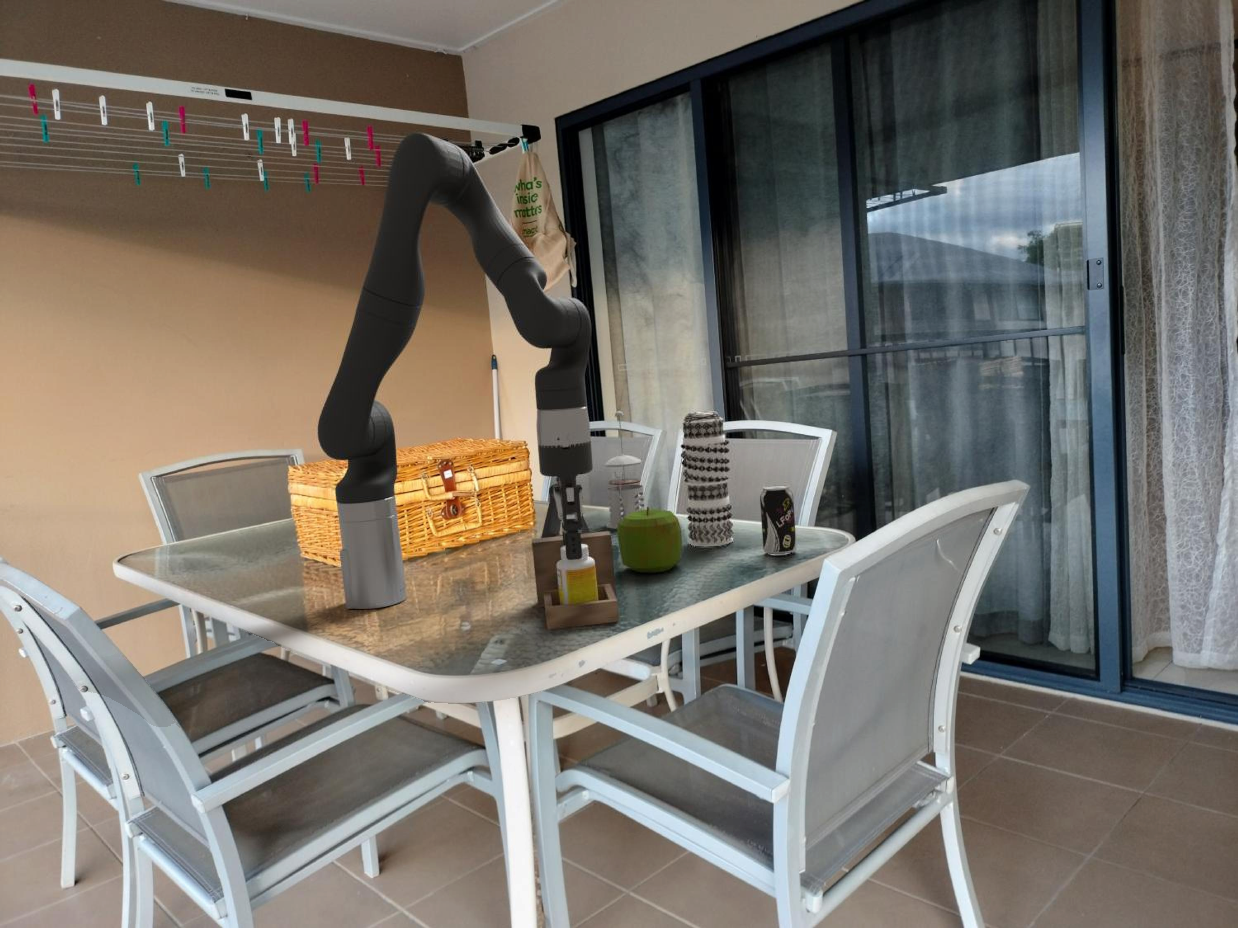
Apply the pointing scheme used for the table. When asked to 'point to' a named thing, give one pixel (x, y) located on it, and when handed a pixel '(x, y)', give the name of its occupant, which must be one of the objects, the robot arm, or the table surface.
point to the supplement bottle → (577, 578)
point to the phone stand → (556, 519)
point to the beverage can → (778, 519)
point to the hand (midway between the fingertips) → (572, 552)
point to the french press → (623, 488)
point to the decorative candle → (706, 479)
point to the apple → (650, 540)
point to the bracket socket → (548, 591)
